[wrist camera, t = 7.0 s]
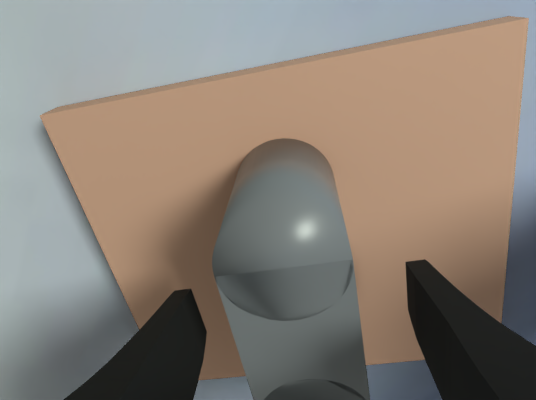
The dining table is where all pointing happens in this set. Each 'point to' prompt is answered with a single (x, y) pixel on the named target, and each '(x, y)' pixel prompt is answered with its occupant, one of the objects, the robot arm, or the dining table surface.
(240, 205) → the plug
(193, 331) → the robot arm
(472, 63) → the mat
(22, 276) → the dining table surface
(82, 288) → the dining table surface
